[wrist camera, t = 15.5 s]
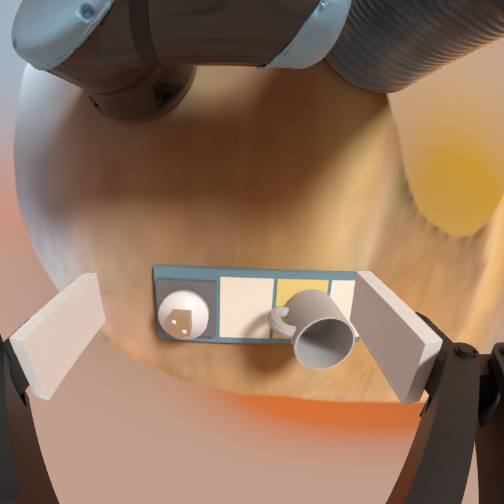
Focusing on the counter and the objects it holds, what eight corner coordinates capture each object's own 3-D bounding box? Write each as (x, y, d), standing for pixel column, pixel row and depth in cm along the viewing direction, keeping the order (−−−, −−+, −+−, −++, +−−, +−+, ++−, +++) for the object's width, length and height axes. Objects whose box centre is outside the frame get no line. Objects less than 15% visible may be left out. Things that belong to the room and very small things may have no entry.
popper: (160, 287, 37) (151, 300, 33) (209, 290, 37) (205, 304, 33) (163, 330, 39) (155, 347, 34) (209, 333, 39) (206, 351, 35)
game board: (155, 264, 39) (151, 268, 37) (375, 272, 40) (381, 276, 39) (160, 335, 41) (156, 341, 40) (362, 338, 43) (366, 344, 41)
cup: (324, 337, 41) (341, 372, 33) (258, 326, 40) (262, 362, 32) (340, 292, 40) (364, 321, 31) (271, 278, 39) (280, 306, 30)
